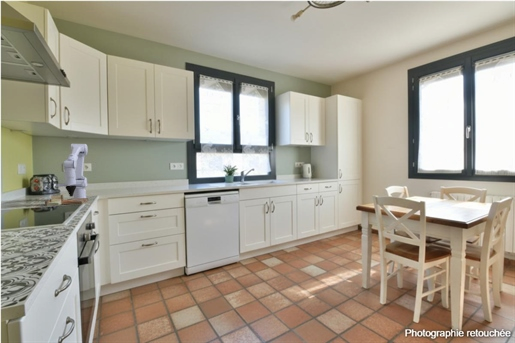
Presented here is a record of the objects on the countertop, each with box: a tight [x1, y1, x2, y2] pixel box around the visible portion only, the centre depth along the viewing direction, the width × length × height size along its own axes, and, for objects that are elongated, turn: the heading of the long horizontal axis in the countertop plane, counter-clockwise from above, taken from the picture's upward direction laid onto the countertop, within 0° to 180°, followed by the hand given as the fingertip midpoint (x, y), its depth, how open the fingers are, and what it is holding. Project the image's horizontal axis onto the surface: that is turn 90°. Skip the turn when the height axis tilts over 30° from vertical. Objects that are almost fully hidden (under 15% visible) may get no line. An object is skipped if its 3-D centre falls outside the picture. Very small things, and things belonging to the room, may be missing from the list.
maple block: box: [50, 194, 64, 202], centre depth 162 cm, size 5×5×4 cm
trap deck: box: [44, 197, 89, 207], centre depth 165 cm, size 16×20×4 cm
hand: (71, 196), depth 166 cm, fingers closed
